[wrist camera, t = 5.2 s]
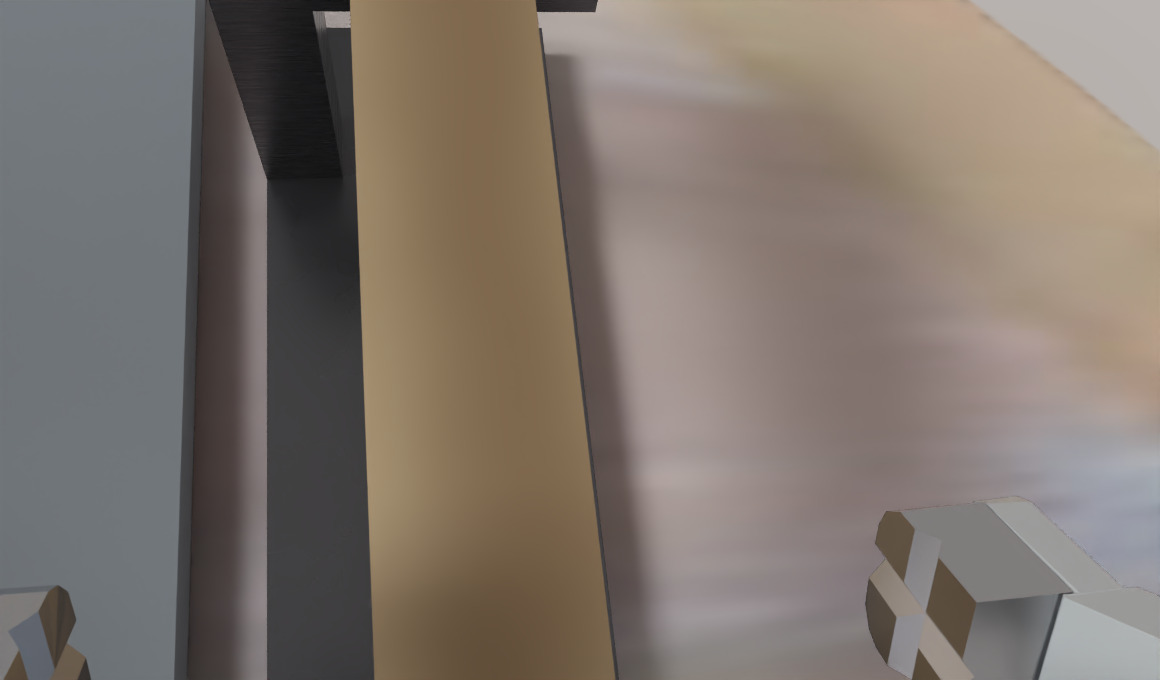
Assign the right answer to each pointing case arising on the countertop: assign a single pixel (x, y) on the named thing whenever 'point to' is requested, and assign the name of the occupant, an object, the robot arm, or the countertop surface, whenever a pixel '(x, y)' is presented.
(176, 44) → the rubber mat
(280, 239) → the hook stand
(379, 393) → the oak rail
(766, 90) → the countertop surface
